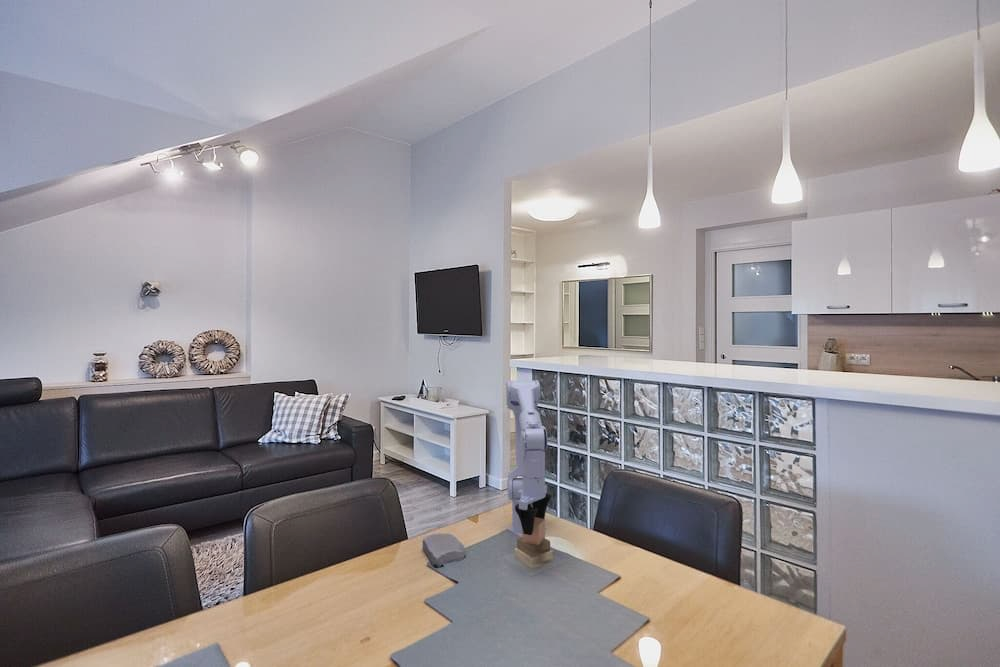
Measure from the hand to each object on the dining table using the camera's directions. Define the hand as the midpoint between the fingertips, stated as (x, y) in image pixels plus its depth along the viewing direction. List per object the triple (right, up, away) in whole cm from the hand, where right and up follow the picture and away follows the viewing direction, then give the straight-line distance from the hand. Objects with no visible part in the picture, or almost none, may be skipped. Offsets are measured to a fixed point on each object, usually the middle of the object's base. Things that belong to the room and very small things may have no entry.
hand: (533, 528), depth 126 cm
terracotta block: (0, -3, 0) cm, 3 cm away
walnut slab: (0, -6, 0) cm, 6 cm away
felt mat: (0, -9, 0) cm, 9 cm away
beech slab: (0, -8, 0) cm, 8 cm away
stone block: (-23, -9, +4) cm, 25 cm away
